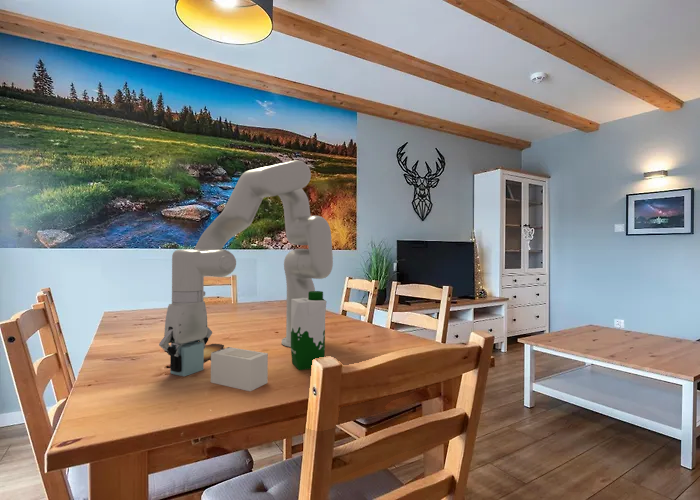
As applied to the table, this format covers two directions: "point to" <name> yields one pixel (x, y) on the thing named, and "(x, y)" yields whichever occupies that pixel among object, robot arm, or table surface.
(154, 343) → the table surface
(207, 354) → the parchment
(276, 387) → the table surface
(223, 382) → the block
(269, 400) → the table surface
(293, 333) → the milk carton
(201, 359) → the stub
